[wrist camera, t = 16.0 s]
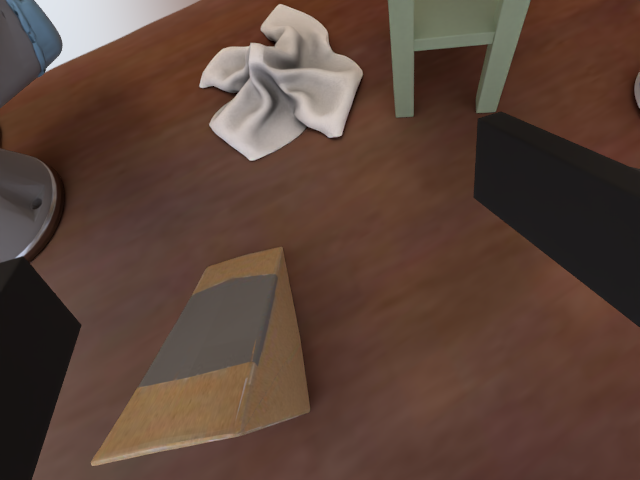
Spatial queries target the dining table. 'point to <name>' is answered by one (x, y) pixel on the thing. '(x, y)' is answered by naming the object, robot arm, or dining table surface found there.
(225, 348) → the sandwich container
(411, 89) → the stand
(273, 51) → the cloth
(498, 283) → the dining table surface
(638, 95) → the supplement tub
